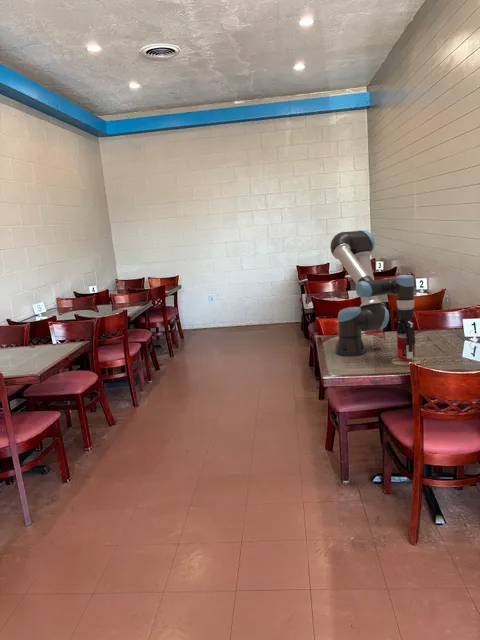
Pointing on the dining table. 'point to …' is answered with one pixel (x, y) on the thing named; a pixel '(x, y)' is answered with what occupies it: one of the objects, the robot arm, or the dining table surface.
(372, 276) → the robot arm
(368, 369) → the dining table surface
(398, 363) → the disc
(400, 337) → the canned food
